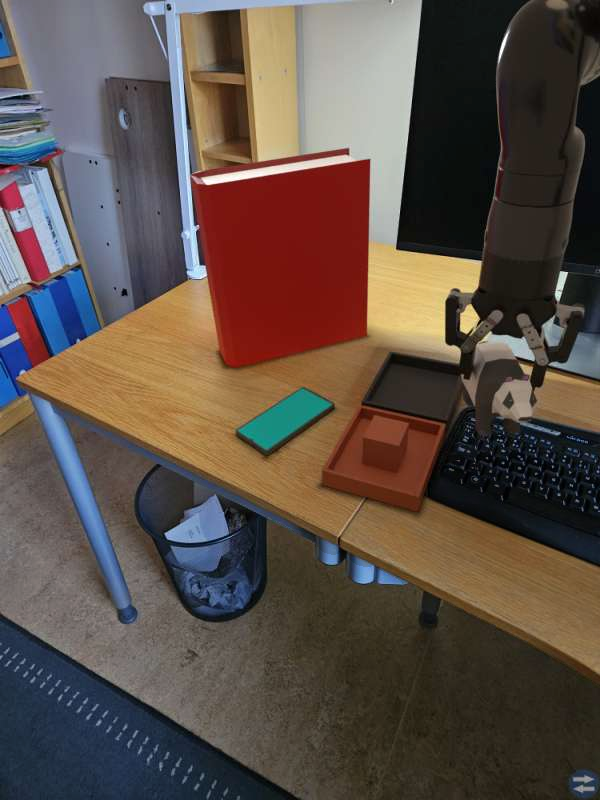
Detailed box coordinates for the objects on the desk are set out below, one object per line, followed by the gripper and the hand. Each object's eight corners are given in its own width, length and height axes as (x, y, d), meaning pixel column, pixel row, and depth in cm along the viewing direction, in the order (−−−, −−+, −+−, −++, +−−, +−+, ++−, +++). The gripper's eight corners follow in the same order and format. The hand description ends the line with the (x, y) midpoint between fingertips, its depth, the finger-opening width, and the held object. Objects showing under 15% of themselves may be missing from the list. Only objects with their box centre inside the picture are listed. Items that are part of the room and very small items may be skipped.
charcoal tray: (465, 379, 94) (467, 365, 92) (445, 434, 83) (447, 420, 81) (389, 364, 98) (389, 351, 97) (360, 415, 88) (361, 401, 86)
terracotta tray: (444, 438, 82) (446, 423, 81) (417, 512, 72) (419, 497, 70) (359, 418, 87) (359, 404, 85) (322, 485, 76) (321, 470, 74)
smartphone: (335, 403, 89) (266, 452, 81) (335, 407, 89) (267, 456, 81) (302, 386, 93) (233, 430, 85) (302, 390, 94) (234, 434, 85)
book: (349, 316, 113) (349, 147, 93) (366, 335, 107) (370, 158, 87) (218, 347, 106) (188, 172, 87) (228, 369, 100) (199, 186, 80)
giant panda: (455, 390, 73) (463, 326, 68) (497, 387, 73) (509, 323, 68) (490, 467, 62) (504, 398, 56) (541, 463, 62) (559, 394, 56)
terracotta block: (407, 449, 80) (409, 422, 77) (397, 473, 76) (399, 445, 73) (373, 441, 81) (374, 414, 78) (362, 464, 78) (362, 437, 75)
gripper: (606, 235, 55) (568, 375, 65) (457, 223, 60) (443, 354, 70) (605, 265, 49) (563, 413, 59) (442, 249, 54) (429, 387, 64)
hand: (498, 381), depth 65 cm, fingers closed on giant panda, 6 cm apart
